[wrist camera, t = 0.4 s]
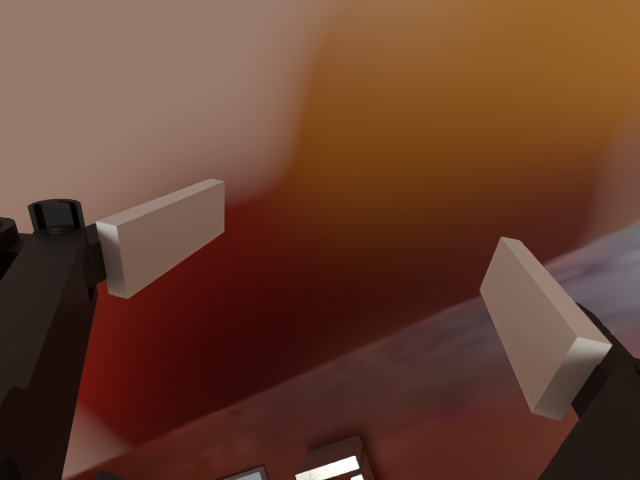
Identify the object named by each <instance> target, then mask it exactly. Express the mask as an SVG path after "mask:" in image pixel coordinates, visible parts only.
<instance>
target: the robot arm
mask: <svg viewBox="0 0 640 480" xmlns="http://www.w3.org/2000/svg"><path fill="white" fill-rule="evenodd" d="M28 210H29V213H30V217H31V221H32V224H33V228H34V232H33V234H24V233H18V230H17V227H16V224H15V221H14V220H13V219H10V218H2V217H0V480H62V473H63V468H64V463H65V458H66V453H67V448H68V443H69V438H70V433H71V428H72V423H73V418H74V413H75V408H76V403H77V398H78V393H79V388H80V383H81V378H82V373H83V368H84V363H85V358H86V353H87V348H88V343H89V338H90V333H91V328H92V323H93V318H94V313H95V308H96V303H97V298H98V290H97V284H98V283H100V282H102V281H103V280H105V279H106V282H107V287H108V293H109V294H112V295H115V296H119V297H122V298H126V299H128V298H129V297H131V296H132V295H134V294H135V293H136V292H138V291H140V290H141V289H142V288H144V287H145V286H147V285H148V284H149V283H151V282H152V281H154V280H155V279H157V278H158V277H160V276H161V275H162V274H164V273H165V272H167V271H168V270H170V269H171V268H173V267H174V266H175V265H177V264H178V263H180V262H181V261H182V260H184V259H185V258H187V257H188V256H190V255H191V254H193V253H194V252H196V251H197V250H198V249H200V248H201V247H203V246H204V245H206V244H207V243H208V242H210V241H211V240H213V239H214V238H216V237H217V236H218V235H220V234H221V233H223V232H224V181H220V180H215V179H208V180H205V181H203V182H200V183H197V184H195V185H192V186H190V187H187V188H184V189H181V190H178V191H176V192H173V193H170V194H168V195H165V196H162V197H160V198H157V199H154V200H152V201H149V202H146V203H144V204H141V205H138V206H135V207H133V208H130V209H127V210H125V211H122V212H119V213H116V214H114V215H111V216H108V217H106V218H103V219H100V220H98V221H96V223H94V224H92V225H89V226H86V227H85V223H84V218H83V213H82V208H81V203H80V202H78V201H76V200H71V199H50V200H44V201H38V202H35V203H32V204H30V205H29V206H28ZM480 292H481V295H482V297H483V299H484V302H485V304H486V306H487V309H488V311H489V313H490V316H491V318H492V321H493V323H494V325H495V328H496V330H497V332H498V335H499V337H500V339H501V342H502V344H503V346H504V349H505V351H506V354H507V356H508V358H509V361H510V363H511V365H512V368H513V370H514V372H515V375H516V377H517V380H518V382H519V384H520V387H521V389H522V391H523V394H524V396H525V398H526V401H527V403H528V406H529V408H530V410H531V413H534V414H538V415H541V416H545V417H548V418H552V419H556V420H559V421H562V419H563V418H564V416H565V415H566V413H567V412H568V410H569V409H570V407H571V406H572V407H573V408H574V410H575V412H576V414H577V415H578V417H579V420H578V422H577V423H576V425H575V426H574V427H573V429H572V430H571V432H570V433H569V435H568V436H567V437H566V439H565V440H564V442H563V443H562V444H561V446H560V448H559V450H558V451H557V453H556V454H555V456H554V457H553V458H552V460H551V461H550V463H549V464H548V466H547V467H546V469H545V470H544V472H543V473H542V475H541V476H540V478H539V479H538V480H640V359H638V358H634V357H633V356H632V355H631V354H630V353H629V352H628V351H627V350H626V348H625V347H624V346H623V345H622V344H621V343H620V342H619V341H618V340H617V339H616V338H615V337H614V336H613V335H611V332H610V331H609V330H608V329H607V328H606V327H605V326H603V324H602V323H601V321H600V320H599V319H598V318H597V317H596V316H595V315H594V314H593V313H592V312H590V311H589V310H587V309H586V308H584V307H583V306H582V305H580V304H579V303H576V302H574V301H573V300H572V299H571V298H570V296H569V295H568V294H567V293H566V292H565V291H564V290H563V289H562V287H561V286H560V285H559V284H558V283H557V282H556V281H555V280H554V278H553V277H552V276H551V275H550V274H549V273H548V272H547V270H546V269H545V268H544V267H543V266H542V265H541V264H540V263H539V261H538V260H537V259H536V258H535V257H534V256H533V255H532V254H531V252H530V251H529V250H528V249H527V248H526V247H525V246H524V245H523V243H522V242H521V241H520V240H515V239H510V238H505V237H501V238H500V241H499V243H498V246H497V248H496V251H495V253H494V255H493V258H492V261H491V263H490V265H489V268H488V270H487V273H486V275H485V278H484V280H483V283H482V285H481V288H480ZM93 480H126V479H124V478H121V477H119V476H116V475H113V474H111V473H108V472H106V471H103V470H101V471H100V472H99V473H98V475H97V476H96V477H95V478H94V479H93Z"/></svg>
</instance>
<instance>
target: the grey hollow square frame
mask: <svg viewBox="0 0 640 480" xmlns="http://www.w3.org/2000/svg"><path fill="white" fill-rule="evenodd" d="M362 447H363V444H362V441H361V439H360V436H359V435H356V436H353V437H350V438H347V439H344V440H341V441H338V442H335V443H332V444H328V445H325V446H322V447H319V448H316V449H313V450H310V451H307V453H306V455H305V457H304V459H303V461H302V463H301V465H300V467H299V469H298V471H297V473H296V479H297V480H326V479H327V478H330V477H333V476H337V475H340V474H343V473H346V472H349V471H352V474H351V480H375V477H374V475H373V472H372V469H371V466H370V463H369V461H368V458H367V455H366V452H365V450H364V451H362Z"/></svg>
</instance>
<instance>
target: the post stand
mask: <svg viewBox="0 0 640 480" xmlns="http://www.w3.org/2000/svg"><path fill="white" fill-rule="evenodd" d="M223 480H267V477H266V473H265V470H264V466H262V467H259V468H256V469H253V470H250V471H247V472H244V473H241V474H238V475H235V476H232V477H229V478H226V479H223Z"/></svg>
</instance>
